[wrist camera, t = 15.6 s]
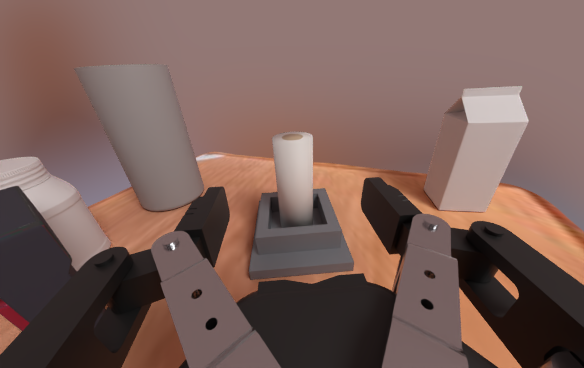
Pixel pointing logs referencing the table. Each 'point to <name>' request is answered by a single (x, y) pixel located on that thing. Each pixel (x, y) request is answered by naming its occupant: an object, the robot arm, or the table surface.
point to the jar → (57, 207)
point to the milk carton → (475, 148)
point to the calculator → (29, 260)
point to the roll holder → (298, 242)
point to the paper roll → (294, 177)
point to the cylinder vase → (145, 131)
